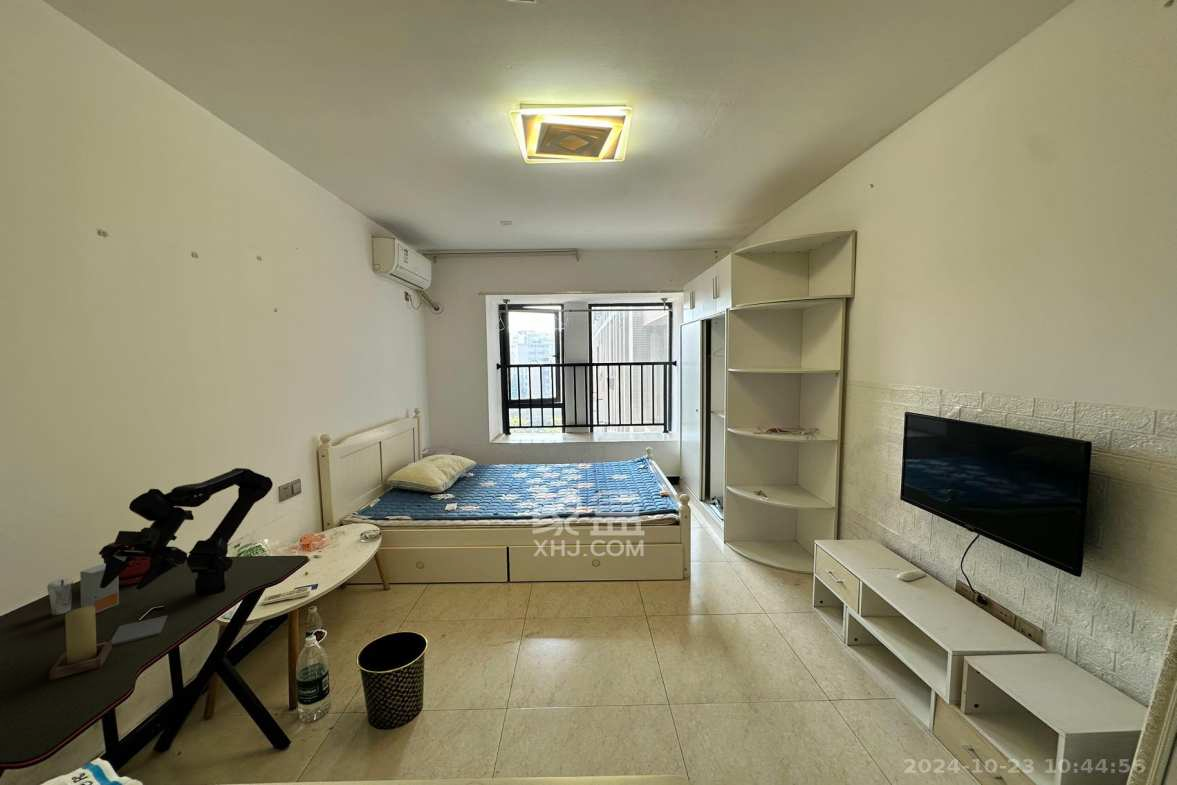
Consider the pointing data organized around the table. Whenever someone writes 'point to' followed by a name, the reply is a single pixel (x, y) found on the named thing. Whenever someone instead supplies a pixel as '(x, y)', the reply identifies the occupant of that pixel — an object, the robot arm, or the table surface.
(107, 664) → the table surface
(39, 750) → the table surface
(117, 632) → the slate mat
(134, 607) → the table surface
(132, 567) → the plant pot
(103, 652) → the walnut socket
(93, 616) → the wooden shaft
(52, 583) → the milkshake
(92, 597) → the skincare box
